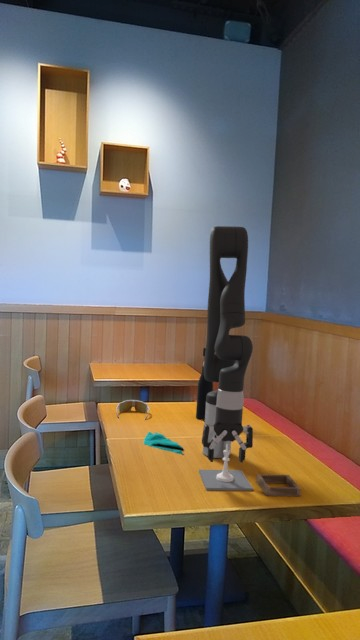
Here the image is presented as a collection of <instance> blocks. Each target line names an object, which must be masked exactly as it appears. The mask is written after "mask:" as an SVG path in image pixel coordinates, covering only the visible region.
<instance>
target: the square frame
mask: <svg viewBox="0 0 360 640" xmlns="http://www.w3.org/2000/svg"><path fill="white" fill-rule="evenodd" d="M255 480H256V483H257V485H258V486H259V487H260V489H261V490H262V492H263V493H264V495H265V497H301V495H302V493H301V492H302V488H301V487H300V486H299V485H298V484H297V482H295V480H294V479H293V478H292V477H291V475H289V474H256V479H255ZM268 484H286V485H287V486H269V485H268Z"/></svg>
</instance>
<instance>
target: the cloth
mask: <svg viewBox="0 0 360 640" xmlns="http://www.w3.org/2000/svg"><path fill="white" fill-rule="evenodd" d="M142 443H143V445H146V446H149V447H150V448H155V449H158V450H163V451H166V452H171V453H175V454H179V455H182V456H183V455H184V456H185V454H184V453H183V451H184V450H185V449H184V447H183V446H181V445H180V444H179V443H178V442H176V441H173V440H171V439H169V438H167V437H166V436H165V435H164V434H162V433H159V432H155V433H152V432H151V431H148V432H147V434H146V435H145V437H144V439H143V442H142ZM182 450H183V451H182Z"/></svg>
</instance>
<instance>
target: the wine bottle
mask: <svg viewBox="0 0 360 640" xmlns="http://www.w3.org/2000/svg"><path fill="white" fill-rule="evenodd" d="M205 351H206V347H203V349H202V356H203V357H204V359H203V362H202V363H203V364H202V366H201V367H202V368H201V374H200V377H199V379H198V383H197V393H196V395H197V396H196V411H195V418H196V419H197V420H198V421H199V420H201V421H205V411H206V396H207V394H208V393H209V392H212V391H214V382H210V381H206V380H205V378H204V360H205Z"/></svg>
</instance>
